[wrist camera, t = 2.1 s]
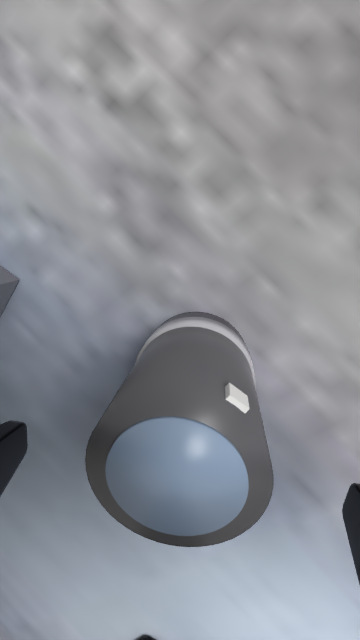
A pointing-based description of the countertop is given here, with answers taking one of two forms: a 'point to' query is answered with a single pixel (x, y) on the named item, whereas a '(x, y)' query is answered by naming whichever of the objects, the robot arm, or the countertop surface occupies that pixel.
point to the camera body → (6, 287)
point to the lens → (184, 438)
